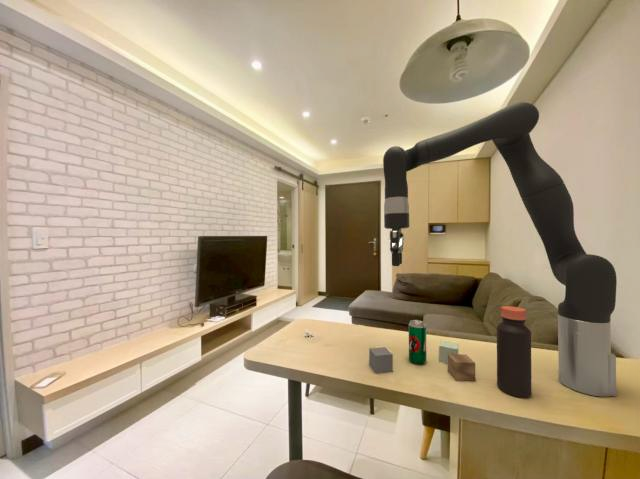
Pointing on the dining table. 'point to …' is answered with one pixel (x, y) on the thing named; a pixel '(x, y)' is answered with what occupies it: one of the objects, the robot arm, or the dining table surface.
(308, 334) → the power adapter
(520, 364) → the bottle
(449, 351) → the sage block
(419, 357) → the soda can
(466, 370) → the walnut block
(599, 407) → the dining table surface
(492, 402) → the dining table surface
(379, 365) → the charcoal block
